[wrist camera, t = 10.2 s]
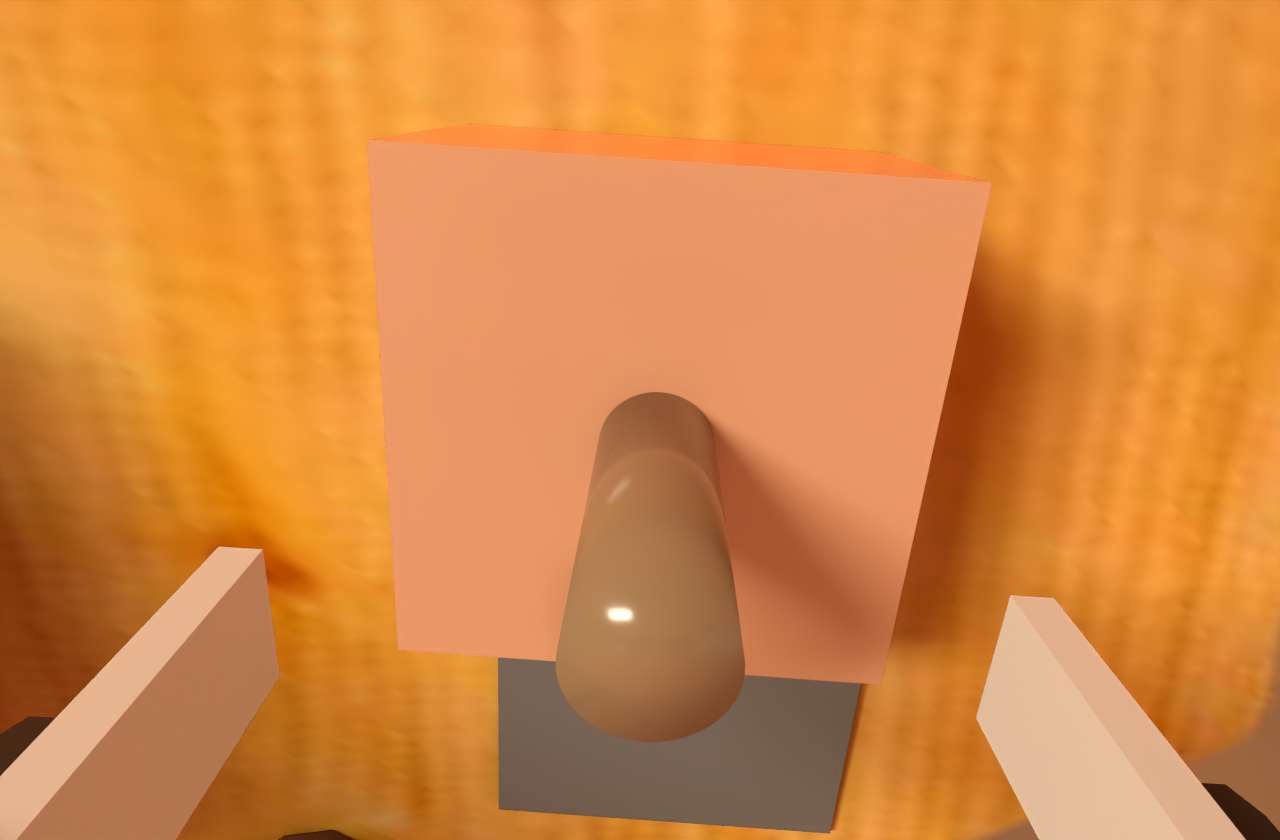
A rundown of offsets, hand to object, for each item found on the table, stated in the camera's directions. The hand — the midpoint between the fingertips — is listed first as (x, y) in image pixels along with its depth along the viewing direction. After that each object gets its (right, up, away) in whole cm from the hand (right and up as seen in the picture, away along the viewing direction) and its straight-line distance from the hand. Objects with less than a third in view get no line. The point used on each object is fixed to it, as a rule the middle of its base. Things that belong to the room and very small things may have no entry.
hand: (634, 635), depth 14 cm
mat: (+2, -9, +24) cm, 26 cm away
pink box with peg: (+1, +7, +18) cm, 19 cm away
